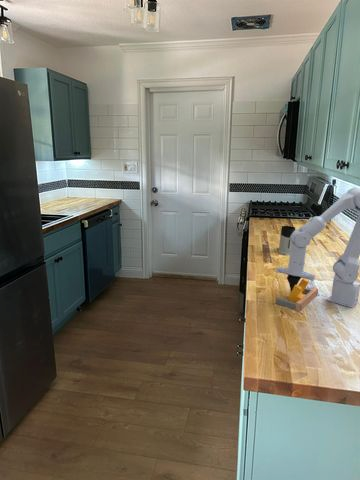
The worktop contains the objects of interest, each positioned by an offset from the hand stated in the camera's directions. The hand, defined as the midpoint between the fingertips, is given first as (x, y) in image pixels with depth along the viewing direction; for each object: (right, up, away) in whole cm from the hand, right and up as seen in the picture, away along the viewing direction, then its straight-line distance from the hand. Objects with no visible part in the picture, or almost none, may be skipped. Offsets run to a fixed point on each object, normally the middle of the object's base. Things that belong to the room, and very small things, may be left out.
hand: (292, 293), depth 135 cm
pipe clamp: (+2, -2, -1) cm, 3 cm away
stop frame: (+2, -2, -1) cm, 3 cm away
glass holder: (+18, +13, +59) cm, 63 cm away
